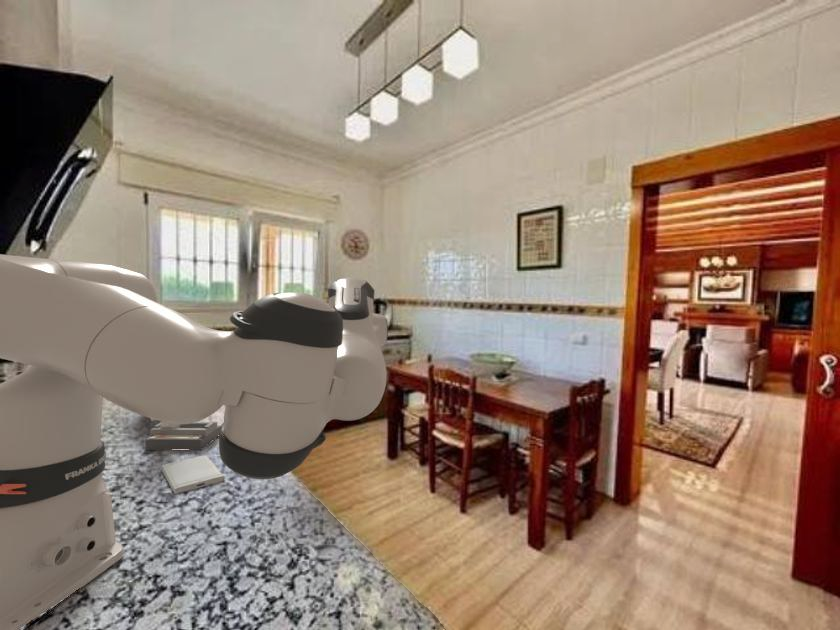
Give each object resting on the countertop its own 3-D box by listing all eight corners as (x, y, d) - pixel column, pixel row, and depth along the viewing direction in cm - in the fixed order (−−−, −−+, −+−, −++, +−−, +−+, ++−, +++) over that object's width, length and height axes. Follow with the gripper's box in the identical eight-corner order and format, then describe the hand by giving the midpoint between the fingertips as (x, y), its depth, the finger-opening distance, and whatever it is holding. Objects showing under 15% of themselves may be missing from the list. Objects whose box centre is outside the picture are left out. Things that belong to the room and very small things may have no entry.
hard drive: (161, 464, 76) (174, 487, 67) (206, 454, 82) (225, 474, 73) (161, 472, 77) (174, 497, 67) (206, 462, 82) (224, 483, 73)
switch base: (200, 450, 87) (201, 431, 87) (145, 450, 86) (145, 430, 86) (220, 435, 97) (220, 417, 96) (170, 434, 96) (170, 417, 96)
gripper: (311, 346, 82) (245, 344, 81) (327, 337, 103) (274, 336, 102) (312, 317, 82) (245, 315, 81) (327, 314, 103) (274, 312, 102)
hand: (261, 326), depth 92 cm, fingers closed
